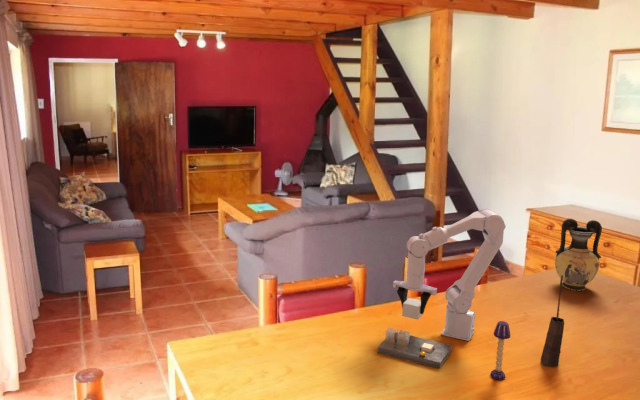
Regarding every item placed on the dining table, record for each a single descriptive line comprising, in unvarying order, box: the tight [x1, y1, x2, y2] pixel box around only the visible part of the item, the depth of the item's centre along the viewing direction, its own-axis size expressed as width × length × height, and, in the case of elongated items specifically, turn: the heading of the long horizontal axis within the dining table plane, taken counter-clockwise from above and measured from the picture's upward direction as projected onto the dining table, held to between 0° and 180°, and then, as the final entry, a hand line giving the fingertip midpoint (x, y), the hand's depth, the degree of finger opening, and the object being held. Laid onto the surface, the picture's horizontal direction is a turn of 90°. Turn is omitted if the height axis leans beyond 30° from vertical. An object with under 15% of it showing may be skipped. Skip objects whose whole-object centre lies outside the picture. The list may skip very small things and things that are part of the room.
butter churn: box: [540, 275, 565, 368], centre depth 166 cm, size 9×10×28 cm
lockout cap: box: [401, 297, 424, 321], centre depth 185 cm, size 6×6×4 cm
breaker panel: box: [377, 327, 453, 370], centre depth 174 cm, size 20×13×6 cm, turn 62°
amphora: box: [554, 218, 603, 292], centre depth 232 cm, size 18×17×30 cm
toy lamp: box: [489, 320, 511, 381], centre depth 160 cm, size 5×5×17 cm
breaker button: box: [421, 343, 434, 353], centre depth 173 cm, size 3×3×3 cm
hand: (413, 310), depth 186 cm, fingers closed on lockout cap, 6 cm apart
